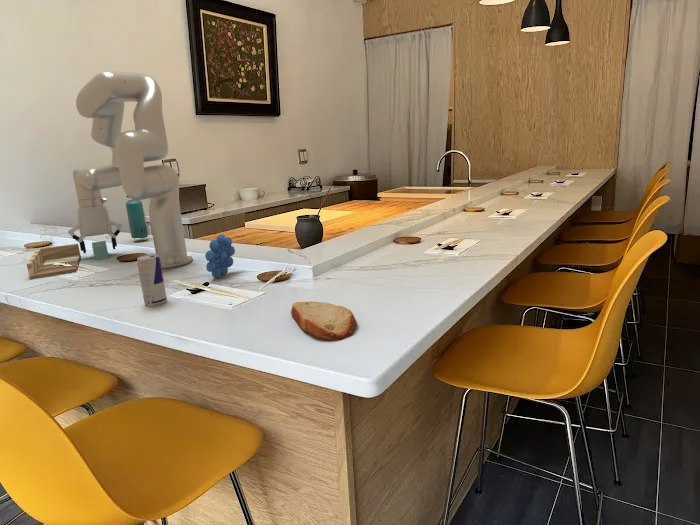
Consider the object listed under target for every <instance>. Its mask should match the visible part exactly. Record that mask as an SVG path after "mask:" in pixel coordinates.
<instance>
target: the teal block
mask: <svg viewBox="0 0 700 525" xmlns="http://www.w3.org/2000/svg"><path fill="white" fill-rule="evenodd" d="M91 245H92V246H91V247H92V253H93V256H94V260H95V261H100V260H106V259H110V256H109V250H108V246H107V242H106V240H101V241H100V240H98V241H93V242H91Z"/></svg>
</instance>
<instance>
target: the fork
mask: <svg viewBox="0 0 700 525" xmlns="http://www.w3.org/2000/svg"><path fill="white" fill-rule="evenodd" d="M289 268H290V267H289ZM289 268H288V266H287V267H286V266H285V267H284V268H283V270H282V271H280V272H279V273H277V274H276V275H274V276H273V277H272V278H271V279H270V280H268V281H267V282H266V283H264V284H263V285H262V286H260V287H259V288H257V290H262V289H263V288H265V287H267V286H269V285H270V284H272V283H273V282H275V281H276V280H275V278H276V277H278V276H280V275H282V276H283V275H288V274H291V273H293V272H294V270H293V269H292V268H291V269H289ZM285 272H287V273H285Z"/></svg>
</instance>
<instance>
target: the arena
mask: <svg viewBox="0 0 700 525" xmlns="http://www.w3.org/2000/svg"><path fill="white" fill-rule="evenodd" d="M81 257H82V255H81V250H80V245H79V243H73V244H65V245H57V246H50V247H49V246H48V247H43V248H36V250H35V251H34V252H33V254H32V255H31V257H30V258H29V260H28V261H27V263H26V268H27V271H28V276H29V280H34V279H35V280H36V279H41V278H49V277H53V276H54V277H55V276H60V275H61V274H62V275H66V273H68V274H73V273H72V272H75V273H77V272H78V269H77V265H78V264H80V261H81ZM54 263H65V264H67V263H68V264H70V265H72V266H54V265H53V264H54ZM78 266H79V265H78ZM76 271H77V272H76Z"/></svg>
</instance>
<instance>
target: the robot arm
mask: <svg viewBox="0 0 700 525" xmlns="http://www.w3.org/2000/svg"><path fill="white" fill-rule="evenodd" d="M126 102H127V103H128V102H129V103H130V102H133V103H134V102H136V104H135V107H134V110H133V122H134V128H135V129H133V130H126V131H122V126H123V120H124V113H125V104H126ZM75 106H76V110H77V113H78V114H79V115H80V116H81V117H83V118H86V119H92V126H91V132H90V136H91V138H92V140H93V141H94V142H96V143H98V144H99V145H101V146H105V147H108V148H110V150H111V154H112V159H111V164H109V165H101V166H94V167H93V166H86V167H85V166H84V167H76V168H74V169H73V171H72V176H73V177H72V178H73V183H74V187H75V192H76V197H77V203H78V208H77V210H76V211H77V213H76V214H77V215H76V216H77V225H76V226H74V227H72V228H70V229H69V230H68V231H67V232H68V234H69V235H70V236H71V238H72V239H73V240H75V241H76V242H78V244H79V249H80V252H82V253H83V254H86V253H87V249H86V243H85V241H84V239H85V238H86V237H93V236H100V235H101V236H102V235H109V236H110V239H111V245H112V249H113V250H116V247H118V243H117V239H116V238H117V236H118V235H119V234H120V233H121V230H122V227H123V225H122V223H119V222H115V221H112V220H111V219H110V215H109V211H108V208H107V206H106V205H105V204H104V203H107V202H108V200H107V198H104V197H102V193H101V192H102V190H105V189H112V188H117V187H120V186H122V189H123V192H124V193H125V195H126V197H127V196H128V197H129V199H130V200H140V201H142V200H143V201H144V200H149V199H150V202H149V204H148V216H149V223H150V229H151V234H152V240H153V245H154V250H155V254H157V255H158V256H159V258H160V262H161V268H162V269H168V268H176V267H181V266H184V265H188V264H190V263H192V262H193V261H194V260H193V256H192V255H190V256H187V255H188V253H187V245H186V240H185V239H186V238H185V233H184V227H183V226H184V225H183V220H182V213H181V212H182V211H181V205H180V178H179V175H178V173H177V171H176V170H175V169H174V168H173V167H171V165H170V166H169V165H165V164H156V165H155V164H154V165H147V166H145V164H144V163H148V162H156V161H161V160H163V159H165V158H166V157H167V156H168V154H169V144H168V143H169V142H168V137H167V130H166V127H165V126H166V125H165V119H164V116H163V115H164V114H163V95H162V91H161V87H160V85H159V84H158V82H157V80H156V79H154V78H153V77H152V76H151V75H148V74H145V73H142V72H141V73H140V72H133V71H132V72H131V71H108V70H107V71H101V72H99V73H97V74H96V75H95V76H93V77H92V78H90V80H89V81H88V82H87V83H86V84H85V85H84V86H83V87H82V88H81V89H80V90H79V92H78V94H77V95H76V100H75ZM112 226H113V227H116V230H115V231H113V230H112ZM78 230H79V234H80V236H78V235H76V234H75V232H77V231H78Z"/></svg>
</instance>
